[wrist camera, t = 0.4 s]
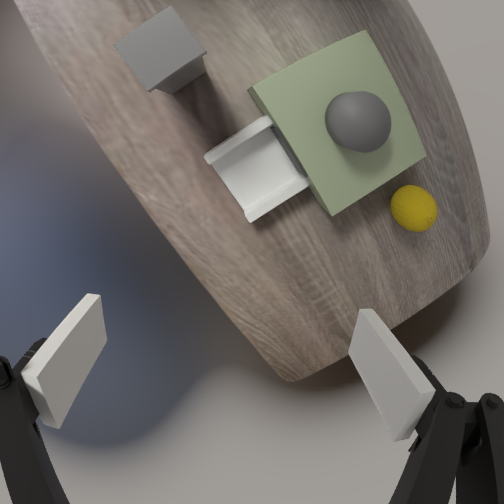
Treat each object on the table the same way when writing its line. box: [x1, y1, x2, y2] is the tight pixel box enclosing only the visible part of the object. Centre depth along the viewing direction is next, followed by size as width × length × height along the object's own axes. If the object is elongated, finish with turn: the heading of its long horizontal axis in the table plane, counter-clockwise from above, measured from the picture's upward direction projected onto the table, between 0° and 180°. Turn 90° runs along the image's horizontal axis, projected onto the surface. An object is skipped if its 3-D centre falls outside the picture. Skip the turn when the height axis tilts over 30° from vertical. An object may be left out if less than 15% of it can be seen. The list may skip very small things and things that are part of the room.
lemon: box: [390, 185, 437, 232], centre depth 35 cm, size 6×6×8 cm
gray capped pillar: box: [113, 5, 207, 95], centre depth 23 cm, size 5×5×12 cm
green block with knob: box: [204, 29, 427, 223], centre depth 30 cm, size 22×16×8 cm
